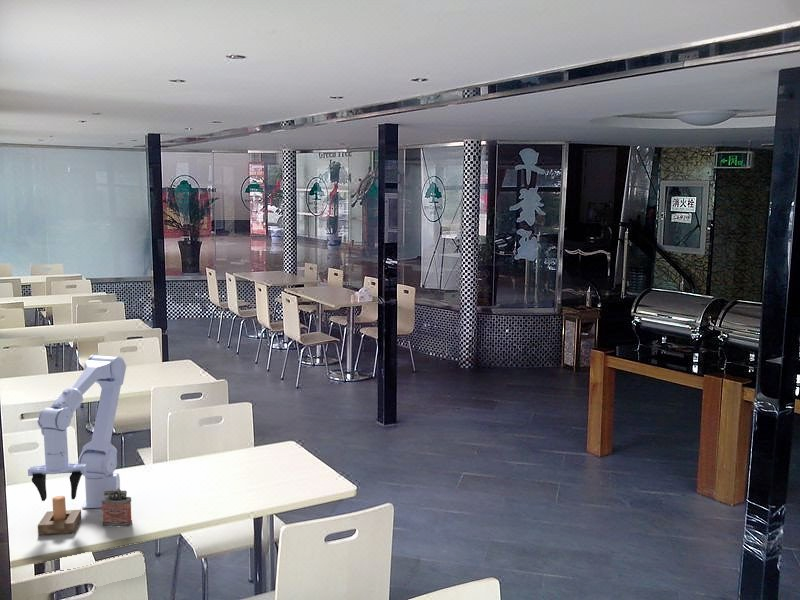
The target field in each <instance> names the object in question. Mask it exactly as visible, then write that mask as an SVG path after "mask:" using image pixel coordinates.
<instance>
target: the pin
mask: <svg viewBox="0 0 800 600" xmlns="http://www.w3.org/2000/svg"><path fill="white" fill-rule="evenodd" d="M51 501H52V511H53V519H54V521H60V520H66V510H67V509H66V496H64V495H56V496H54V497H53V498H52V499H51Z"/></svg>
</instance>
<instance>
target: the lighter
mask: <svg viewBox="0 0 800 600" xmlns="http://www.w3.org/2000/svg"><path fill="white" fill-rule="evenodd" d="M127 493H128V492H127V490H121V488H120V489H117V490H116V491H113V490H105V491H104V496H109V497H104V498H102V499H101V502H102V507H101V509H102V524H101V525H102V526H103V527H107V526H112V527H111V528H120V527H121V526H122V527H123V528H124V527H130V526H132V525H133V519H132V497H131V496H127ZM112 496H113V497H112ZM118 526H120V527H118ZM122 527H121V528H122Z"/></svg>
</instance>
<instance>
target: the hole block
mask: <svg viewBox="0 0 800 600" xmlns="http://www.w3.org/2000/svg"><path fill="white" fill-rule="evenodd" d="M81 522H82V509H70V510H69V509H68V510H67V509H66V520H60V521H54V519H53V510H51V511H46V512H45V514H44V515H43V517H42V518H41V520H40V522H39V523H38V524H37V536H38V537H42V536H41V535H44V536H57V535H73V534H72V533H75V532H76V530H77V529H76V528H78V527H79V525H80V523H81ZM77 526H78V527H77Z"/></svg>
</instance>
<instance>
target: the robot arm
mask: <svg viewBox="0 0 800 600" xmlns="http://www.w3.org/2000/svg"><path fill="white" fill-rule="evenodd" d="M126 370H127V365H126V363H125V360H124V358H123V357H121V356H111V355H110V356H109V355H97V354H91V355H90V356H89V357H88V358H87V360H86V361H85V362H84V370H83V371H82V373H81V375H80V376H79V378H78V379H77V380H76V382H75V383H74V385H73V386H72V387H68V388H66V389H64V390H63V391H62V393H61V394H60V395H59V396H58V397H57V399H55V401H54V402H53V403H52V404H51V405H50V406H49V407H45V408H44V409H43V410H42V411H40V413H39V416H38V419H37V425H38V427H39V428H40V430H41V432H40V433H41V435H42V436H43V442H44V443H43V446H44V462H45V464H42V465H36V466H29V467H28V468H27V476H28V477H32V478H31V481H32V484H34V486H35V488H36V489H37V491H38V493H39V495H40V499H41V501H42V502H45V500H47V499H48V498H47V497H48V496H47V486H46V484H47V483H46V482H47V481H46V480H47V478H46V477H47V475H57V474H59V475H60V474H70V476H69V477H68V478H69V482H70V489H71V490H70V496H71V497H70V498H71V500H75V499H76V498H77V492H78V491H77V490H78V487H79V484H80V480H81V478H82V476H84V483H85V484H84V485H85V486H84V487H85V501H84V503H83V505H82V506H81V507H82V509H95V508H97V509H98V508H99V509H100V508H101V509H102V502H101V499H102V498H104V497H109V496H104V491H105V490H113V491H116V490H117V489H120V490H121V477H120V473H118V472H115V471H116V468H117V467H118V458H117V456H118V455H117V454H118V449H117V448H116V447H115V446H114V445H113V444H112V443H111V439H112V435H113V429H114V423H115V419H116V415H117V409H118V408H117V407H118V403H119V399H120V398H119V397H120V392H121V387H122V386H123V385H124V381H125V376H126ZM95 383H96V384H98V385H99V386H100V388H101V391H100V396H99V400H98V406H97V411H96V415H95V422H94V426H93V431H92V435H91V436H92V437H91V440H90V441H89V442H87V443H86V444H84V445H83V446H82V450H81V453H80V455H79V456H78V459H77V463H72V462H69V449H68V446H69V445H68V430H67V429H68V428H69V426H70V424H71V422H72V418H73V416H74V413H75V411H76V410H77V409H78V408H79V407H80V405H81V404H82V403H83V402H84V397H83V395H85V393H87V391H88V390H89V389H90V388H91V387H92V386H93V385H94V384H95ZM112 497H113V496H112Z"/></svg>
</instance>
